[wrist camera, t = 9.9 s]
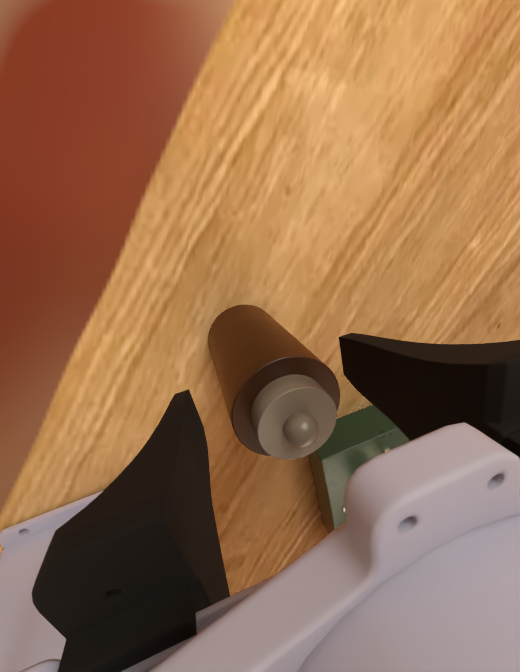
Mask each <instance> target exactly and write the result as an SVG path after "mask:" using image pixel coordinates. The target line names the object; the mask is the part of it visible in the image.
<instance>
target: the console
mask: <svg viewBox="0 0 520 672" xmlns="http://www.w3.org/2000/svg"><path fill="white" fill-rule="evenodd" d="M409 441H410V440H409V439H408V438H407V437H406V436H405V435H404V433H403V432H402V431H401V430H400V429H399V428H398V427H397V426H396V425H395V424H394V423H393V422H392V421H391V420H390V419H389V418H388V417H387V416H385V415H384V414H383V413H382V412H381V411H380V410H379V409H378V408H376V407H375V406H374V405H372V406H369V407H367V408H364V409H362V410H359V411H357V412H354V413H352V414H349V415H347V416H344V417H342V418H339V419H337V420H336V424H335V427H334V429H333V432H332V433H331V435H330V437H329V438H328V439H327V441H326V442H325V443H324V444H323V445H322V446H321V447H320V448H318V449H317V450H316V451H314V452H312V453H311V454H309V460H310V465H311V469H312V474H313V478H314V483H315V487H316V492H317V496H318V501H319V505H320V510H321V514H322V519H323V524H324V526H325V528H326V530H327V532H328V534H329V533H331V532H332V531H333V530H335V529H336V528H337V527H338V526H340V525H341V524H342V523H344V522H345V521H346V513H345V507H344V501H343V500H344V494H345V488H346V484H347V481H348V480H349V479H350V477H351V476H352V475H353V473H354V472H355V470H356V469H357V468H358V467H359V466H361V465H362V464H364V463H365V462H367V461H368V460H370V459H371V458H373V457H375V456H377V455H379V454H382V453H384V452H386V451H389V450H391V449H393V448H396V447H398V446H400V445H403V444H405V443H407V442H409Z"/></svg>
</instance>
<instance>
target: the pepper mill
mask: <svg viewBox="0 0 520 672" xmlns="http://www.w3.org/2000/svg"><path fill="white" fill-rule="evenodd" d="M208 345H209V349H210V353H211V356H212V359H213V363H214V366H215V370H216V373H217V376H218V380H219V383H220V386H221V390H222V393H223V396H224V400H225V403H226V406H227V410H228V413H229V416H230V420H231V423H232V426H233V430H234V432H235V434H236V436H237V438H238V439H239V441H240V442H241V443H242V444H243V445H244V446H246V447H247V448H248V449H250V450H252V451H253V452H256V453H258V454H262V455H266V456H273V457H275V458H278V459H284V460H292V459H298V458H302V457H304V456H307V455H309V454H311V453H312V452H314V451H316V450H317V449H318V448H320V447H321V446H322V445H323V444H324V443H325V442H326V441H327V439H328V438H329V437H330V435H331V433H332V432H333V429H334V427H335V424H336V419H337V410H338V406H339V400H340V392H339V386H338V382H337V380H336V377H335V376H334V374H333V372H332V371H331V370H330V369H329V368H328V367H327V366H326V365H325V364H324V363H323V362H322V361H320V360H319V359H318V358H317V357H316V356H315V355H314V354H313V353H311V352H310V351H309V350H308V349H307V348H306V347H305V346H304V345H302V344H301V343H300V342H299V341H298V340H297V339H296V338H294V337H293V336H292V335H291V334H290V333H289V332H288V331H287V330H285V329H284V328H283V327H282V326H281V325H280V324H279V323H278V322H276V321H275V320H274V319H273V318H272V317H271V316H270V315H268V314H267V313H266V312H265V311H264V310H262V309H260V308H258V307H256V306H252V305H238V306H234V307H231V308H229V309H227V310H225V311H224V312H222V313H221V314H220V315H219V316H218V317H217V318H216V319H215V321H214V322H213V324H212V326H211V328H210V331H209V336H208Z"/></svg>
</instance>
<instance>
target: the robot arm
mask: <svg viewBox="0 0 520 672" xmlns="http://www.w3.org/2000/svg"><path fill="white" fill-rule="evenodd" d="M339 342H340V349H341V357H342V364H343V372H344V375H345V376H346V377H347V379H348V380H349V381H350V383H351V384H352V385H353V386H354V387H355V388H356V389H357V390H358V391H359V392H360V393H361V394H362V395H363V396H364V397H365V398H366V399H367V400H369V401H370V402H371V403H372V404H373V405H374V406H375V407H376V408H378V409H379V410H380V411H381V412H382V413H383V414H384V415H385V416H387V417H388V418H389V419H390V420H391V421H392V422H393V423H394V424H395V425H396V426H397V427H398V428H399V429H400V430H401V431H402V432H403V433H404V435H405V436H406V437H407V438H408V439H409V440H410V441H409V442H407V443H405V444H403V445H400V446H398V447H396V448H393V449H391V450H389V451H386V452H384V453H382V454H379V455H377V456H375V457H373V458H371V459H370V460H368V461H367V462H365V463H364V464H362V465H361V466H359V467H358V468H357V469H356V470H355V472H354V473H353V475H352V476H351V477H350V479H349V480H348V481H347V484H346V488H345V494H344V500H343V501H344V507H345V513H346V521H345V522H344V523H342V524H341V525H340V526H338V527H337V528H336V529H335V530H333V531H332V532H331V533H329V534H328V535H327V536H325V537H324V538H323V539H321V540H320V541H319V542H317V543H316V544H315V545H314V546H312V547H311V548H310V549H308V550H307V551H306V552H304V553H303V554H302V555H300V556H299V557H298V558H296V559H295V560H294V561H293V562H291V563H290V564H289V565H287V566H286V567H285V568H283V569H282V570H281V571H279V572H278V573H277V574H275V575H274V576H272V577H270V578H267V579H265V580H263V581H261V582H259V583H257V584H255V585H253V586H251V587H249V588H247V589H244V590H242V591H240V592H238V593H236V594H234V595H232V596H230V593H229V589H228V584H227V579H226V574H225V569H224V564H223V559H222V554H221V549H220V544H219V538H218V533H217V528H216V522H215V517H214V511H213V505H212V498H211V487H210V473H209V459H208V447H207V442H206V437H205V432H204V427H203V424H202V422H201V419H200V417H199V414H198V412H197V409H196V407H195V404H194V402H193V399H192V397H191V394H190V391H189V390H186V391H183V392H180V393H177V394H175V395H174V397H173V398H172V400H171V402H170V404H169V406H168V408H167V410H166V412H165V414H164V415H163V417H162V419H161V421H160V423H159V424H158V426H157V428H156V429H155V431H154V432H153V434H152V435H151V437H150V439H149V440H148V441H147V443H146V444H145V446H144V447H143V448H142V450H141V451H140V452H139V453H138V455H137V456H136V457H135V458H134V460H133V461H132V462H131V463H130V464H129V465H128V466H127V467H126V468H125V469H124V471H123V472H122V473H121V474H120V475H119V476H118V477H117V478H116V479H115V480H114V481H113V482H112V483H111V484H110V485H109V486H108V487H107V488H106V489H105V490H103V491H101V492H98V493H95V494H93V495H90V496H88V497H85V498H83V499H80V500H77V501H75V502H72V503H70V504H67V505H65V506H62V507H59V508H57V509H54V510H52V511H49V512H47V513H44V514H41V515H39V516H36V517H34V518H31V519H29V520H26V521H23V522H21V523H18V524H16V525H13V526H11V527H8V528H5V529H3V530H2V531H1V532H0V545H1V546H2V547H3V548H4V549H3V550H2V552H1V554H0V672H520V340H516V341H508V342H498V343H485V344H428V343H416V342H408V341H400V340H394V339H387V338H381V337H376V336H370V335H363V334H356V333H350V334H347V335H344V336H341V337H339ZM26 529H27V530H26Z"/></svg>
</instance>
